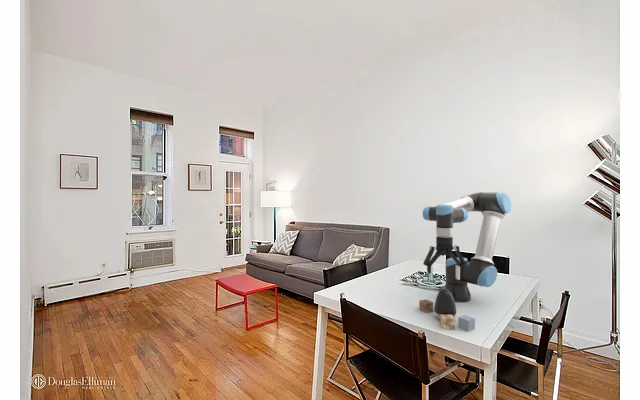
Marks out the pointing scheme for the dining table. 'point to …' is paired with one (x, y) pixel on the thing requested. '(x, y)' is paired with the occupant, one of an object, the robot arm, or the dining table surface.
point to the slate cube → (466, 323)
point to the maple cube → (447, 322)
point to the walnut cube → (426, 306)
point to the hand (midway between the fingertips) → (444, 279)
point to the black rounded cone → (444, 303)
